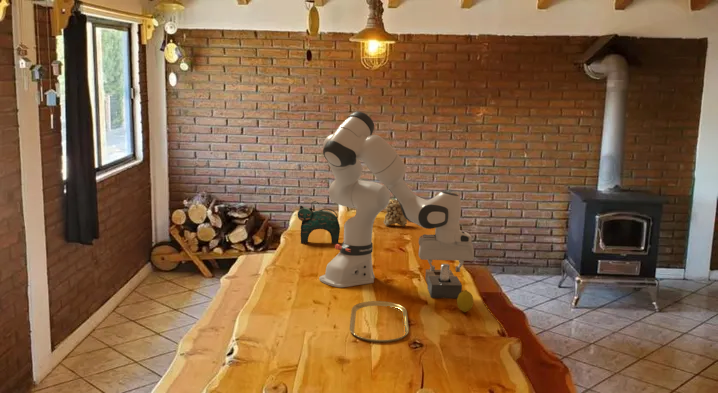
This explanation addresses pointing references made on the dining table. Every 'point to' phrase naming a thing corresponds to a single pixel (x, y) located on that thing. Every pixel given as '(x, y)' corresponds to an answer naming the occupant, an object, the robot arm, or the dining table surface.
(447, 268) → the steel peg
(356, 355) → the dining table surface
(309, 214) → the ceramic cat
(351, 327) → the rounded metal frame
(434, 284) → the grey square-hole block
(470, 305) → the lemon
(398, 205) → the mineral formation
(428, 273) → the socket block
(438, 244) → the robot arm
